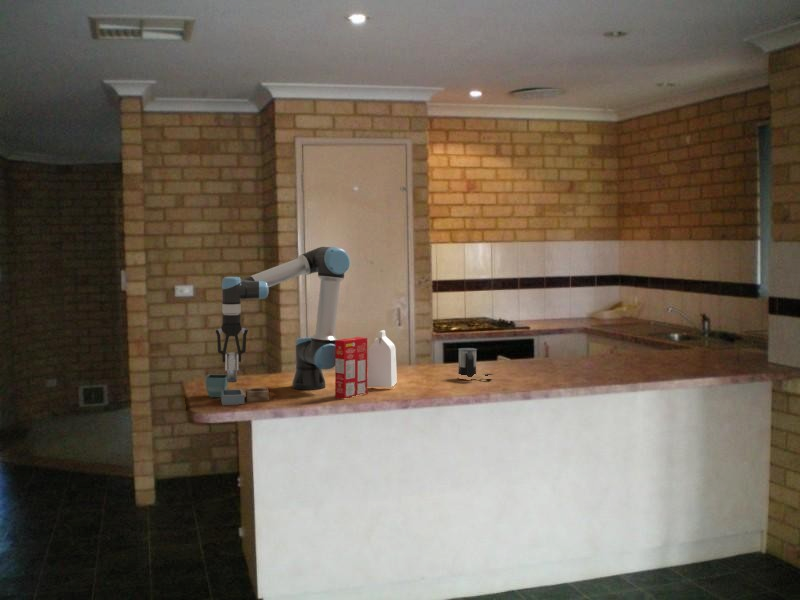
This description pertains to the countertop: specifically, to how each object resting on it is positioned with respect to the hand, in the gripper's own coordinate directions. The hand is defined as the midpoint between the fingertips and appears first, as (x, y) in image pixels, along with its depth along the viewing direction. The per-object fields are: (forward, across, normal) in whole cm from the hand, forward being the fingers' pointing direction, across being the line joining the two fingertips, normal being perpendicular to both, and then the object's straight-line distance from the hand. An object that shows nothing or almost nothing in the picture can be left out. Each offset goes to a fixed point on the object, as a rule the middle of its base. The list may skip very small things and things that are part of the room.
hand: (231, 369), depth 354 cm
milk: (+13, -69, -19) cm, 73 cm away
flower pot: (+14, +6, -13) cm, 20 cm away
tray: (+14, 0, 0) cm, 14 cm away
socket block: (+14, -11, -3) cm, 18 cm away
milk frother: (+13, -118, -28) cm, 122 cm away
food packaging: (+14, -51, -1) cm, 53 cm away
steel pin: (+5, 0, 0) cm, 5 cm away
